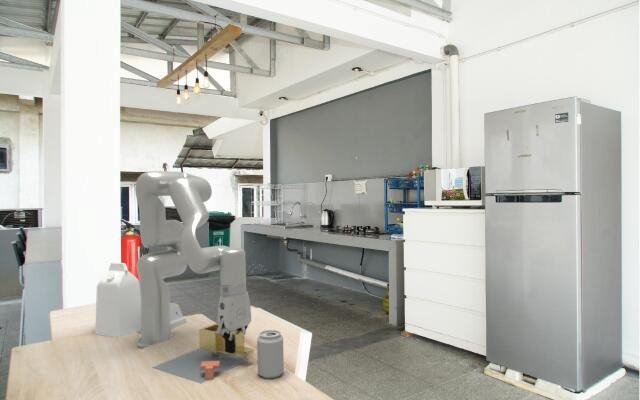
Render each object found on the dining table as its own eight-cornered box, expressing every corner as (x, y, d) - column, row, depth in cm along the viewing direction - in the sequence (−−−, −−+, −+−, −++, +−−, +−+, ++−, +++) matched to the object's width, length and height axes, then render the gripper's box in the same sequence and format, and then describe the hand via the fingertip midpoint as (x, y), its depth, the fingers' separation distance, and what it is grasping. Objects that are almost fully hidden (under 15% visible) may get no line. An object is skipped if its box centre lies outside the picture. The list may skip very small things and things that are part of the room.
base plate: (152, 372, 128) (152, 367, 128) (201, 351, 144) (201, 347, 144) (200, 388, 117) (200, 383, 117) (248, 364, 133) (248, 359, 133)
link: (199, 348, 135) (199, 329, 135) (216, 342, 141) (215, 323, 141) (242, 359, 126) (241, 338, 126) (257, 351, 132) (257, 332, 131)
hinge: (157, 334, 162) (149, 308, 163) (148, 337, 163) (140, 311, 165) (187, 322, 177) (180, 298, 178) (179, 324, 179) (172, 301, 180)
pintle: (210, 361, 136) (209, 333, 136) (215, 358, 138) (215, 331, 138) (215, 362, 135) (215, 335, 134) (221, 360, 137) (220, 333, 136)
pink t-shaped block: (202, 377, 124) (201, 361, 124) (220, 376, 125) (220, 360, 124) (199, 385, 119) (199, 368, 119) (218, 384, 120) (218, 367, 119)
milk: (143, 328, 170) (141, 261, 169) (120, 337, 159) (118, 266, 158) (119, 325, 174) (117, 260, 173) (95, 334, 163) (93, 264, 163)
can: (287, 370, 128) (287, 329, 128) (277, 381, 121) (276, 338, 121) (264, 367, 131) (264, 327, 130) (252, 377, 124) (252, 335, 123)
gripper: (222, 296, 122) (224, 361, 123) (261, 285, 136) (262, 343, 137) (203, 293, 126) (205, 356, 127) (243, 283, 140) (244, 339, 141)
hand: (234, 349), depth 132 cm, fingers closed on link, 3 cm apart
